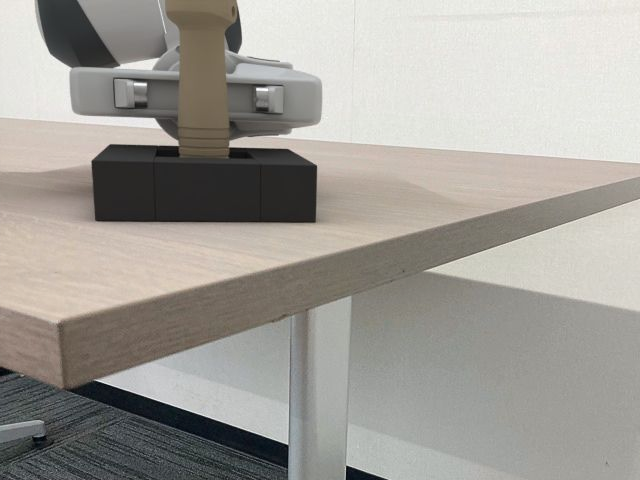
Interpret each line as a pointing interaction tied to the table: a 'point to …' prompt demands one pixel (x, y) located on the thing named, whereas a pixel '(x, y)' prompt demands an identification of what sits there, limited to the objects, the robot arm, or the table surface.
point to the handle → (202, 75)
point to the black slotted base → (203, 185)
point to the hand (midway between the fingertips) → (202, 97)
